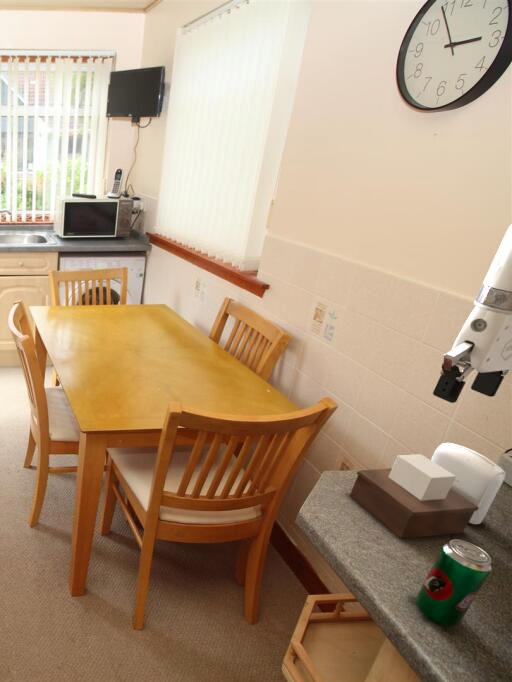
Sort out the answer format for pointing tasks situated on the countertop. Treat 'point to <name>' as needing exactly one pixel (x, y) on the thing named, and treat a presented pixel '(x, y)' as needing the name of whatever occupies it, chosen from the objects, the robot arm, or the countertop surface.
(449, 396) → the robot arm
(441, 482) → the white box
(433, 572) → the soda can
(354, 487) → the storage box
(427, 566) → the countertop surface
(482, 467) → the photo printer
